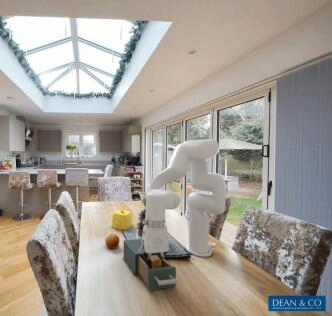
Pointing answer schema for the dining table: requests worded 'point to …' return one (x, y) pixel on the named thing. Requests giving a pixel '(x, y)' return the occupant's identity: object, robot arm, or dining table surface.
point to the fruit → (112, 241)
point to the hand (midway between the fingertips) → (154, 266)
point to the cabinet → (132, 253)
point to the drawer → (156, 274)
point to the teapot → (122, 219)
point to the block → (155, 262)
